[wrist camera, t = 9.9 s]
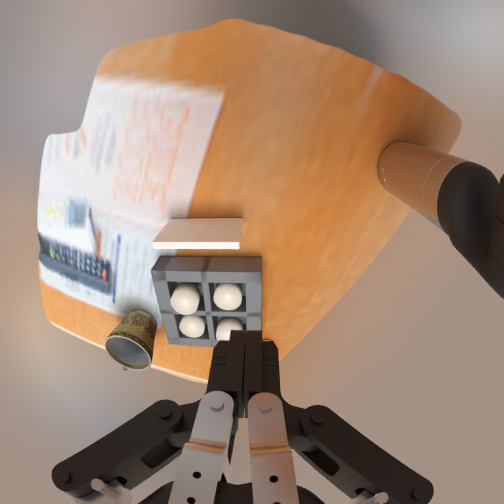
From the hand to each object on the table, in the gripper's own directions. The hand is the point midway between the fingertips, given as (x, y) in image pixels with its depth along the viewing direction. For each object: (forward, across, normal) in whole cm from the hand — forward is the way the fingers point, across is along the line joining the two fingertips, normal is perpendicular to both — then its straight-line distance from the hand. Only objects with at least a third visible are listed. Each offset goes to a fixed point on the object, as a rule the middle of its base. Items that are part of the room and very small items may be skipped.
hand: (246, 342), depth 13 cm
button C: (+28, +12, +17) cm, 35 cm away
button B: (+28, +4, +25) cm, 37 cm away
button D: (+30, +12, +25) cm, 40 cm away
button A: (+30, +4, +17) cm, 35 cm away
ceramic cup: (+32, +25, +30) cm, 51 cm away
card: (+32, +8, +6) cm, 34 cm away
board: (+32, +8, +21) cm, 39 cm away
